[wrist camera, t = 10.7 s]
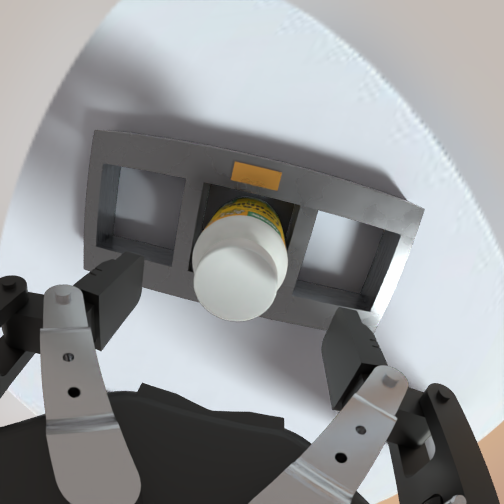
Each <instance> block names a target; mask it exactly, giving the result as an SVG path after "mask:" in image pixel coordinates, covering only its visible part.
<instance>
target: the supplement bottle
mask: <svg viewBox="0 0 504 504" xmlns="http://www.w3.org/2000/svg"><path fill="white" fill-rule="evenodd" d="M192 265H193V271H194V290H195V293H196V296H197V298H198V300H199V302H200V303H201V304H202V306H203V307H204V308H205V309H206V310H207V311H208V312H210V313H211V314H213V315H215V316H217V317H219V318H221V319H224V320H228V321H235V322H238V321H247V320H251V319H254V318H256V317H258V316H260V315H261V314H263V313H264V312H265V311H266V310H267V309H268V308H269V307H270V306H271V304H272V303H273V301H274V299H275V296H276V293H277V290H278V289H279V288H280V286H281V284H282V283H283V281H284V279H285V276H286V272H287V267H288V257H287V250H286V245H285V240H284V234H283V229H282V224H281V221H280V219H279V217H278V215H277V213H276V212H275V210H274V209H273V208H272V207H271V206H270V205H269V204H268V203H266V202H265V201H263V200H260V199H258V198H254V197H239V198H236V199H233V200H231V201H229V202H227V203H226V204H224V205H223V206H222V207H221V208H220V209H219V210H218V211H217V212H216V213H215V215H214V216H213V218H212V219H211V221H210V222H209V223H208V225H207V226H206V227H205V229H204V230H203V232H202V233H201V235H200V236H199V238H198V240H197V242H196V244H195V247H194V250H193V256H192Z"/></svg>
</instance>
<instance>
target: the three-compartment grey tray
mask: <svg viewBox="0 0 504 504" xmlns="http://www.w3.org/2000/svg"><path fill="white" fill-rule="evenodd" d="M121 166H122V167H128V168H134V169H139V170H145V171H150V172H155V173H161V174H166V175H171V176H176V177H181V178H186V182H185V187H184V192H183V198H182V204H181V210H180V215H179V222H178V228H177V234H176V241H175V247H174V250H171V249H167V248H163V247H159V246H155V245H151V244H147V243H143V242H139V241H135V240H131V239H127V238H123V237H119V236H115V235H113V232H114V219H115V208H116V199H117V190H118V182H119V175H120V168H121ZM211 184H214V185H219V186H223V187H228V188H232V189H236V190H241V191H245V192H249V193H253V194H258V195H262V196H266V197H270V198H274V199H278V200H282V201H286V202H290V203H293V204H295V205H294V209H293V212H292V216H291V219H290V223H289V227H288V230H287V234H286V237H285V245H286V250H287V257H288V267H287V272H286V276H285V279H284V281H283V283H282V284H281V286H280V288H279V289H278V290H277V293H276V296H275V299H274V301H273V303H272V304H271V306H270V307H269V308H268V309H267V310H266V311H265V312H264V313H263V314H261V315H260V316H259V317H263V318H268V319H273V320H277V321H282V322H287V323H292V324H297V325H302V326H307V327H312V328H317V329H323V330H328V328H329V326H330V323H331V321H332V319H333V316H334V314H335V312H336V310H337V309H338V308H339V307H343V308H347V309H352V310H356V311H357V312H358V314H359V316H360V319H361V321H362V323H363V324H365V325H366V326H367V327H368V328H369V329H370V330H371V331H372V332H373V334H374V332H375V330H376V328H377V326H378V324H379V322H380V320H381V318H382V316H383V313H384V311H385V309H386V307H387V305H388V303H389V300H390V298H391V296H392V294H393V291H394V289H395V287H396V285H397V282H398V280H399V277H400V275H401V273H402V270H403V268H404V265H405V263H406V260H407V258H408V255H409V252H410V250H411V247H412V244H413V242H414V239H415V236H416V233H417V231H418V228H419V225H420V222H421V219H422V216H423V213H424V210H425V209H424V208H422V207H419V206H417V205H415V204H413V203H411V202H409V201H407V200H404V199H401V198H399V197H396V196H393V195H390V194H387V193H384V192H382V191H379V190H376V189H373V188H370V187H367V186H364V185H361V184H358V183H354V182H351V181H348V180H345V179H342V178H338V177H335V176H332V175H328V174H325V173H322V172H318V171H315V170H311V169H307V168H304V167H300V166H296V165H293V164H289V163H285V162H281V161H277V160H273V159H269V158H265V157H261V156H257V155H252V154H248V153H244V152H239V151H234V150H230V149H225V148H220V147H215V146H210V145H205V144H200V143H194V142H189V141H183V140H177V139H171V138H165V137H159V136H152V135H145V134H138V133H130V132H122V131H113V130H95V131H94V137H93V143H92V150H91V157H90V164H89V173H88V182H87V193H86V206H85V223H84V269H85V270H88V271H92V270H93V269H95V267H97V266H98V265H99V264H101V263H102V262H105V261H108V260H111V259H114V260H116V259H117V258H118V257H119V256H121V255H122V254H123V253H124V252H126V251H128V252H131V253H135V254H138V255H142V256H144V271H143V281H142V287H144V288H148V289H151V290H155V291H158V292H162V293H166V294H169V295H173V296H177V297H180V298H184V299H188V300H192V301H196V302H199V300H198V298H197V296H196V293H195V290H194V271H193V265H192V256H193V250H194V247H195V244H196V242H197V240H198V238H199V236H200V235H201V230H202V225H203V220H204V215H205V209H206V204H207V199H208V195H209V190H210V185H211ZM318 210H320V211H323V212H327V213H331V214H334V215H338V216H341V217H345V218H348V219H352V220H355V221H359V222H362V223H365V224H369V225H372V226H375V227H379V228H382V229H385V230H384V233H383V236H382V239H381V241H380V244H379V247H378V250H377V252H376V255H375V258H374V261H373V263H372V266H371V268H370V271H369V274H368V276H367V279H366V281H365V284H364V286H363V289H362V291H361V293H360V294H358V293H354V292H349V291H345V290H340V289H336V288H331V287H327V286H322V285H318V284H313V283H309V282H305V281H300V280H297V278H298V275H299V272H300V268H301V265H302V262H303V259H304V256H305V253H306V249H307V246H308V243H309V240H310V236H311V233H312V230H313V227H314V223H315V220H316V216H317V213H318Z"/></svg>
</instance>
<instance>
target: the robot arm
mask: <svg viewBox="0 0 504 504" xmlns="http://www.w3.org/2000/svg"><path fill="white" fill-rule="evenodd" d="M143 271H144V256H142V255H138V254H135V253H131V252H128V251H126V252H124V253H123V254H122V255H121V256H119V257H118V258H117V259H116V260H114V259H111V260H108V261H105V262H102V263H101V264H99V265H98V266H97V267H95V269H93V270H92V271H90V272H89V273H88V274H87V275H85V276H84V277H83V278H82V279H80V280H79V281H78V282H77V283H75V284H74V285H73V286H71V285H56V286H53V287H51V288H49V289H48V290H47V291H46V292H45V294H44V295H43V294H37V293H31V292H28V290H27V283H26V281H25V280H24V279H23V278H22V277H19V276H5V277H2V278H0V327H2V331H3V334H4V335H3V336H2V337H1V338H0V398H1V397H2V395H3V394H4V393H5V391H6V390H7V389H8V387H9V386H10V385H11V383H12V382H13V381H14V379H15V378H16V377H17V375H18V374H19V373H20V372H21V370H22V369H23V368H24V367H25V365H26V364H27V363H28V362H29V360H30V359H31V358H32V357H33V355H34V354H35V353H38V354H40V356H41V375H42V388H43V398H44V406H45V414H43V415H40V416H37V417H34V418H30V419H27V420H24V421H21V422H17V423H14V424H10V425H7V426H4V427H0V504H369V503H368V502H367V501H366V500H365V499H364V498H363V497H362V496H361V495H360V494H359V493H358V492H357V491H356V490H357V489H358V487H359V486H360V484H361V483H362V481H363V480H364V478H365V476H366V475H367V473H368V472H369V470H370V468H371V467H372V465H373V463H374V462H375V460H376V458H377V456H378V455H379V453H380V451H381V449H382V448H383V446H384V444H385V442H386V441H387V442H388V445H389V449H390V454H391V459H392V464H393V469H394V474H395V479H396V485H397V490H398V496H399V502H400V504H500V503H499V500H498V497H497V493H496V490H495V488H494V485H493V482H492V479H491V476H490V474H489V471H488V468H487V466H486V464H485V461H484V458H483V456H482V453H481V451H480V448H479V446H478V444H477V441H476V439H475V437H474V434H473V432H472V430H471V428H470V425H469V423H468V421H467V419H466V417H465V415H464V412H463V410H462V408H461V406H460V404H459V402H458V400H457V398H456V396H455V395H454V393H453V392H452V391H451V390H450V389H449V388H447V387H446V386H444V385H441V384H438V383H433V384H430V385H429V386H428V388H427V389H426V390H425V392H420V391H417V390H414V389H412V388H409V387H408V381H407V379H406V377H405V376H404V375H403V374H402V373H401V372H400V371H398V370H397V369H395V368H393V367H390V366H388V365H387V363H386V360H385V358H384V356H383V353H382V351H381V349H380V348H379V345H378V342H376V338H375V336H374V334H373V332H372V331H371V330H370V329H369V328H368V327H367V326H366V325H365V324H363V323H362V321H361V319H360V316H359V314H358V312H357V311H356V310H352V309H347V308H343V307H339V308H338V309H337V310H336V312H335V314H334V316H333V319H332V321H331V323H330V326H329V328H328V330H327V332H326V334H325V337H324V339H323V343H322V356H323V361H324V366H325V372H326V377H327V382H328V388H329V393H330V399H331V405H332V410H338V411H340V412H339V414H338V415H337V416H336V417H335V418H334V420H333V421H332V422H331V423H330V424H329V425H328V427H327V428H326V429H325V430H324V431H323V432H322V433H321V435H320V436H319V437H318V438H317V439H316V440H315V441H314V442H313V443H312V444H311V443H310V442H308V441H307V440H306V439H304V438H303V437H301V436H299V435H298V434H296V433H294V432H292V431H290V430H287V429H285V428H284V418H281V417H275V416H269V415H264V414H258V413H253V412H229V411H212V410H208V409H206V408H204V407H202V406H200V405H198V404H196V403H194V402H192V401H190V400H188V399H186V398H184V397H182V396H180V395H178V394H176V393H172V392H169V391H166V390H163V389H160V388H157V387H154V386H150V385H148V384H145V383H142V384H141V386H140V388H139V390H138V392H134V391H115V392H108V393H107V392H106V389H105V385H104V382H103V378H102V374H101V371H100V367H99V363H98V359H97V355H96V351H95V349H97V350H100V351H102V350H103V348H104V347H105V346H106V344H107V343H108V342H109V340H110V339H111V338H112V336H113V335H114V334H115V332H116V331H117V330H118V328H119V327H120V326H121V324H122V323H123V322H124V320H125V319H126V318H127V317H128V315H129V314H130V313H131V311H132V310H133V309H134V308H135V306H136V305H137V304H138V302H139V299H140V296H141V292H142V281H143Z"/></svg>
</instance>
